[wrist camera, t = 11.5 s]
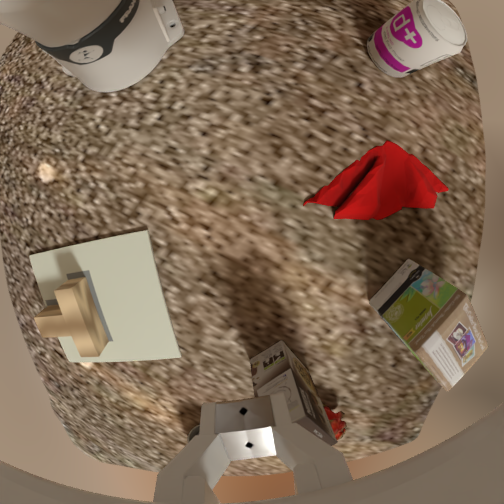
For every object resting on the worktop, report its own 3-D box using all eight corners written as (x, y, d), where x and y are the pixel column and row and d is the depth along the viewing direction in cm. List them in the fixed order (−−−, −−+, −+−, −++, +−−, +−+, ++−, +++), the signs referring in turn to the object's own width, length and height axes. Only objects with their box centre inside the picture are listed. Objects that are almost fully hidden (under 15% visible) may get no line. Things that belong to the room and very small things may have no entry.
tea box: (365, 302, 42) (414, 353, 27) (407, 256, 40) (469, 290, 26) (405, 347, 45) (448, 394, 31) (441, 308, 44) (491, 346, 30)
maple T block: (40, 284, 36) (25, 295, 32) (85, 276, 37) (71, 288, 32) (63, 343, 39) (51, 357, 35) (108, 341, 40) (99, 356, 35)
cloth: (449, 158, 37) (458, 158, 35) (441, 237, 41) (449, 240, 39) (305, 124, 35) (310, 121, 33) (298, 225, 38) (302, 228, 36)
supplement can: (369, 74, 33) (429, 39, 18) (360, 29, 30) (410, -16, 16) (413, 82, 33) (477, 59, 19) (403, 39, 31) (459, 6, 16)
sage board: (30, 254, 35) (29, 255, 35) (148, 229, 36) (147, 230, 36) (70, 360, 41) (69, 362, 40) (181, 355, 42) (181, 357, 41)
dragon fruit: (340, 408, 50) (283, 405, 50) (356, 401, 43) (291, 398, 44) (338, 447, 44) (279, 445, 45) (354, 445, 38) (286, 445, 38)
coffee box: (247, 359, 43) (257, 439, 27) (282, 338, 42) (306, 414, 27) (279, 391, 45) (296, 464, 29) (310, 372, 44) (339, 443, 29)
